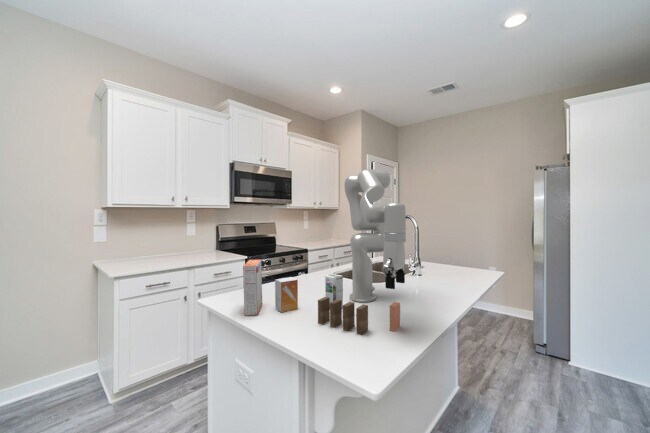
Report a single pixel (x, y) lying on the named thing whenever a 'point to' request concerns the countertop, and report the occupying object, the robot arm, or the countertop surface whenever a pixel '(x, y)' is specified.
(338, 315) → the domino
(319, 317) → the domino
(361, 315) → the domino
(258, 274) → the cracker box
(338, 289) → the syrup box
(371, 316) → the countertop surface
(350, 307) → the domino
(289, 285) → the small box
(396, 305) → the domino
